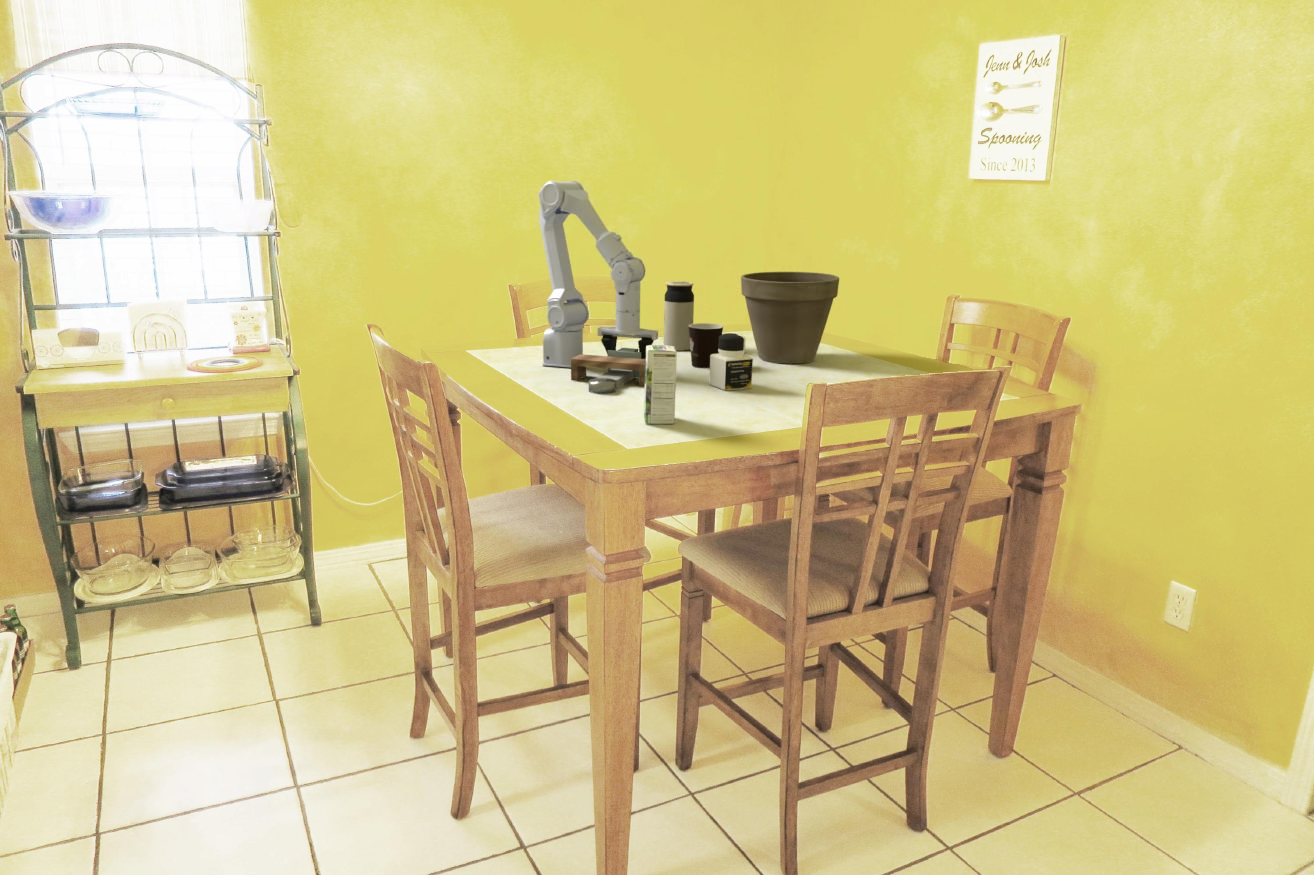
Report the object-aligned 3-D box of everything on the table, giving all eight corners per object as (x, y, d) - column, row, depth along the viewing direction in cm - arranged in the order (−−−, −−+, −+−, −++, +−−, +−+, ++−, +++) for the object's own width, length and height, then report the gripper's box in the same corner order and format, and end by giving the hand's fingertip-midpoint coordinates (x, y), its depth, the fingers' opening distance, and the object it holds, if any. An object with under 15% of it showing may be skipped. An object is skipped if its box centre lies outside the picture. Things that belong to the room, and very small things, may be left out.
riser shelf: (571, 380, 211) (570, 359, 209) (580, 375, 216) (580, 354, 215) (645, 386, 206) (645, 364, 205) (653, 381, 212) (653, 359, 210)
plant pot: (725, 362, 234) (728, 277, 227) (752, 346, 256) (756, 268, 249) (822, 372, 225) (828, 283, 219) (841, 354, 247) (847, 273, 241)
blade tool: (589, 386, 205) (589, 360, 204) (614, 371, 221) (614, 347, 219) (623, 389, 203) (623, 362, 202) (645, 374, 219) (646, 349, 217)
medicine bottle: (725, 391, 203) (727, 338, 200) (708, 384, 209) (710, 332, 206) (751, 388, 206) (754, 335, 203) (735, 381, 212) (737, 330, 209)
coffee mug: (719, 370, 225) (720, 329, 222) (684, 368, 226) (685, 327, 223) (725, 361, 236) (726, 322, 233) (692, 359, 237) (693, 320, 234)
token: (584, 393, 200) (584, 382, 199) (595, 387, 205) (595, 377, 205) (609, 396, 198) (609, 385, 197) (620, 390, 203) (620, 379, 202)
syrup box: (643, 416, 181) (644, 344, 177) (672, 416, 181) (674, 344, 177) (645, 424, 175) (646, 350, 171) (675, 424, 176) (677, 350, 172)
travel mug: (697, 348, 252) (699, 282, 247) (682, 352, 245) (684, 285, 240) (673, 344, 256) (674, 280, 251) (658, 349, 250) (659, 282, 244)
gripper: (662, 310, 216) (661, 366, 220) (604, 306, 220) (604, 362, 224) (653, 314, 209) (652, 372, 213) (594, 310, 213) (594, 367, 217)
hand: (627, 367), depth 218 cm, fingers open, 7 cm apart
